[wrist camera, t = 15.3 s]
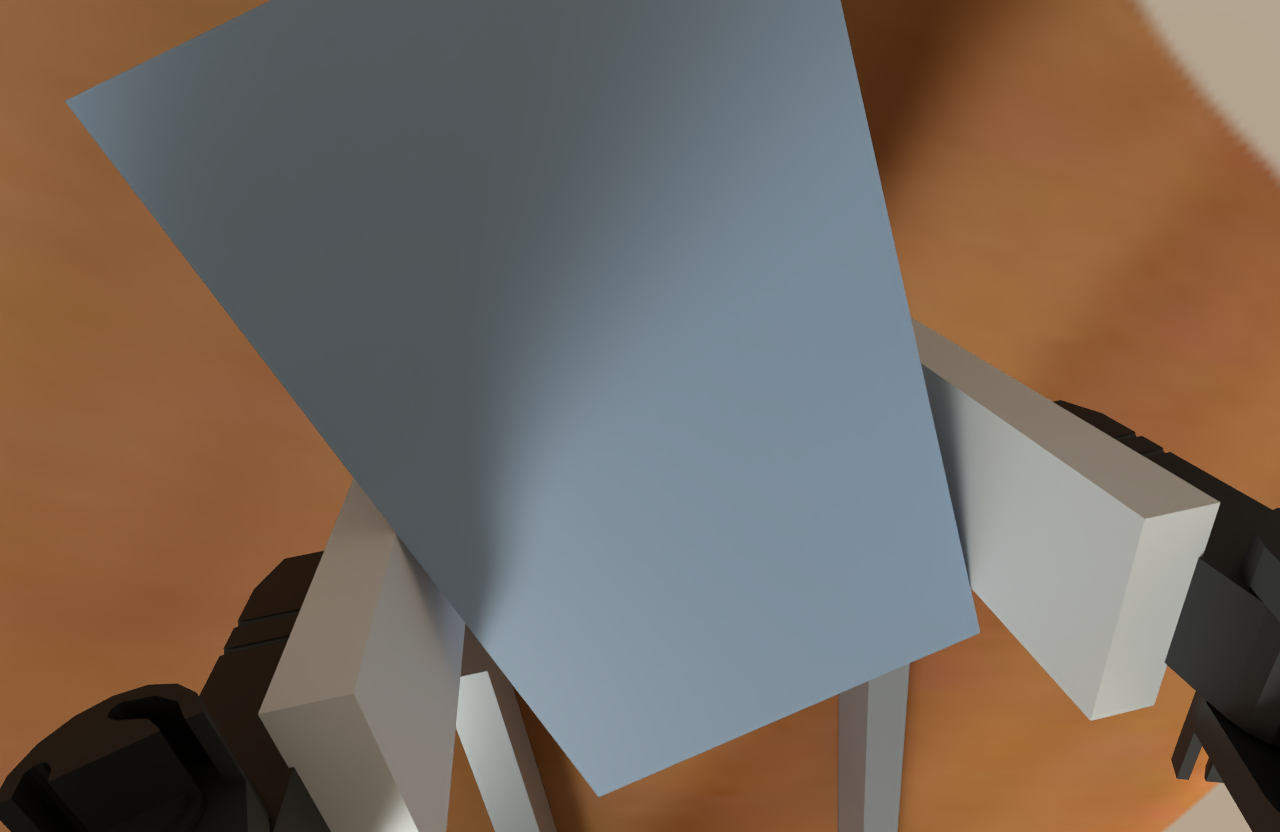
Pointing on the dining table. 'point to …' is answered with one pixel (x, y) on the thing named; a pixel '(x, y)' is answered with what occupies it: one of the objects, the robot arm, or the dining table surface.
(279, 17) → the slate block
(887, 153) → the dining table surface
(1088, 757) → the dining table surface
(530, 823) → the grey flat frame
